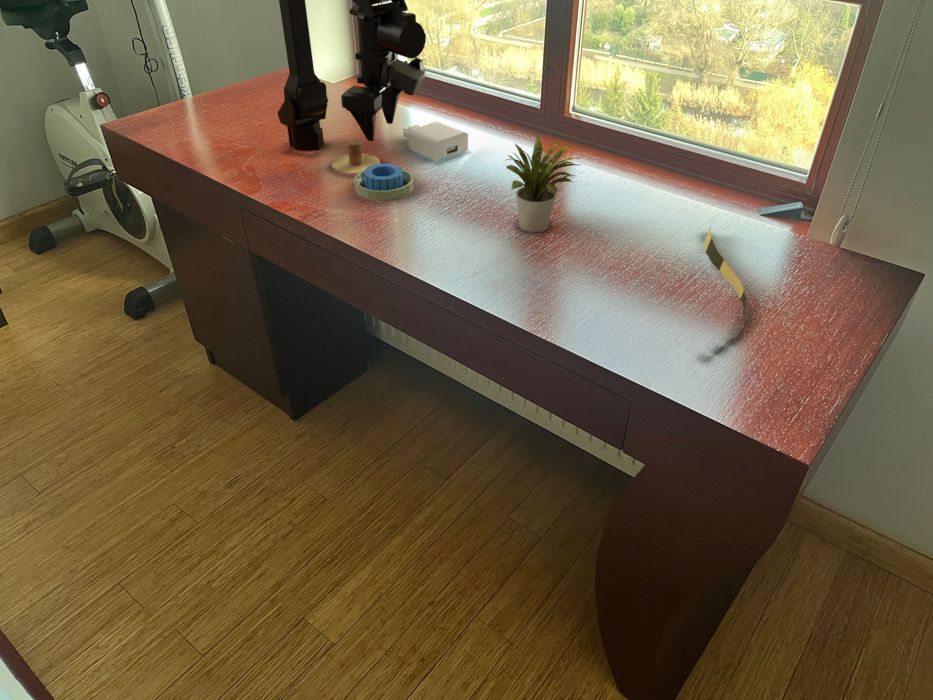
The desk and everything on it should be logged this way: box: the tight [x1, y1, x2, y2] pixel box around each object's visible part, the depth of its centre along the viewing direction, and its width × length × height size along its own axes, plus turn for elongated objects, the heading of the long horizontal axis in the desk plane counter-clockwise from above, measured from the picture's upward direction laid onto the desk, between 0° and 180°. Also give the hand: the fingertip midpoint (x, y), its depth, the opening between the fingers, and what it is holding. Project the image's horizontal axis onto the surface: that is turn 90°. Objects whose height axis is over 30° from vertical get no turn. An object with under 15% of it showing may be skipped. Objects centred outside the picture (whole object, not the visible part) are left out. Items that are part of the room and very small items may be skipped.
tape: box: [703, 220, 748, 358], centre depth 116 cm, size 6×38×4 cm, turn 166°
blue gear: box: [364, 163, 404, 191], centre depth 144 cm, size 7×7×4 cm
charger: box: [402, 121, 469, 162], centre depth 161 cm, size 5×9×15 cm
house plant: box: [503, 134, 581, 233], centre depth 129 cm, size 14×14×16 cm
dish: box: [353, 168, 415, 202], centre depth 145 cm, size 11×11×3 cm
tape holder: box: [331, 139, 381, 174], centre depth 153 cm, size 10×10×5 cm
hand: (380, 132), depth 140 cm, fingers open, 9 cm apart
